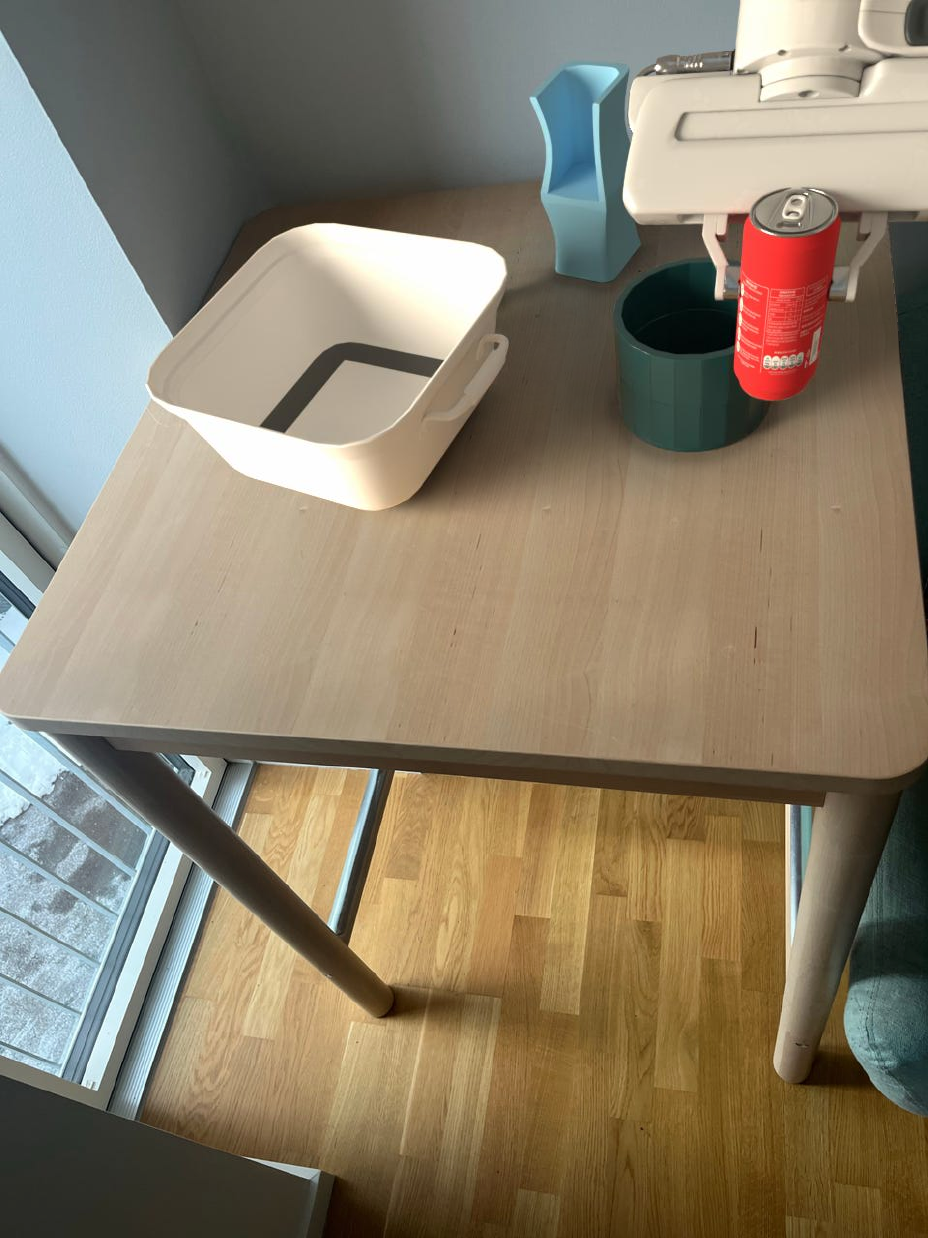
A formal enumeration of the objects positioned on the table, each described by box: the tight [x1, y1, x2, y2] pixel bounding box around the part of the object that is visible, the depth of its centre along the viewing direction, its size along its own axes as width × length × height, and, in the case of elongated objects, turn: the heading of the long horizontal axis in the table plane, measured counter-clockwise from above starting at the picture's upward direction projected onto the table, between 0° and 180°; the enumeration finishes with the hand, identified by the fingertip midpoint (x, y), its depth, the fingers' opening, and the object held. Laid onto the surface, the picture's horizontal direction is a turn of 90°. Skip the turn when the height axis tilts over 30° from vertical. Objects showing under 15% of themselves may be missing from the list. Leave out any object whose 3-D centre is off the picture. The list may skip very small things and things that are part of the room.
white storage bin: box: [145, 222, 510, 512], centre depth 90 cm, size 34×29×15 cm
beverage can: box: [734, 187, 842, 402], centre depth 55 cm, size 5×5×12 cm
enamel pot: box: [611, 256, 772, 453], centre depth 86 cm, size 15×15×11 cm
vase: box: [529, 59, 642, 283], centre depth 99 cm, size 8×8×20 cm
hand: (783, 299), depth 55 cm, fingers closed on beverage can, 5 cm apart
